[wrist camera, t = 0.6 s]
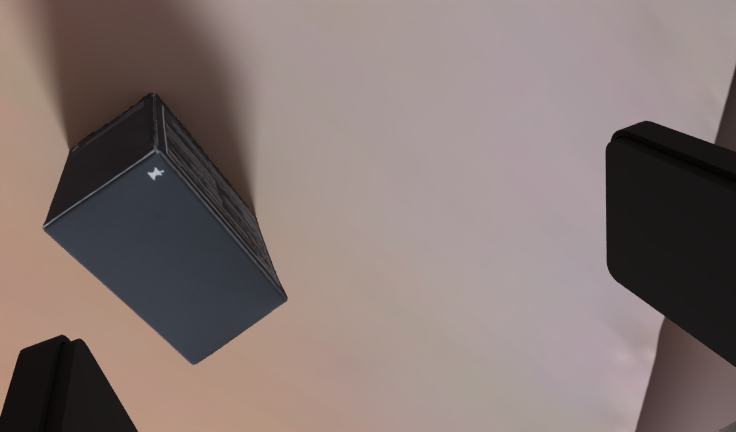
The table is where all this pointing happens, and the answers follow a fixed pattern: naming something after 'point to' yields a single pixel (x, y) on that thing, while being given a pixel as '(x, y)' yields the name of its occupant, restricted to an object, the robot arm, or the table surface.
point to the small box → (164, 231)
